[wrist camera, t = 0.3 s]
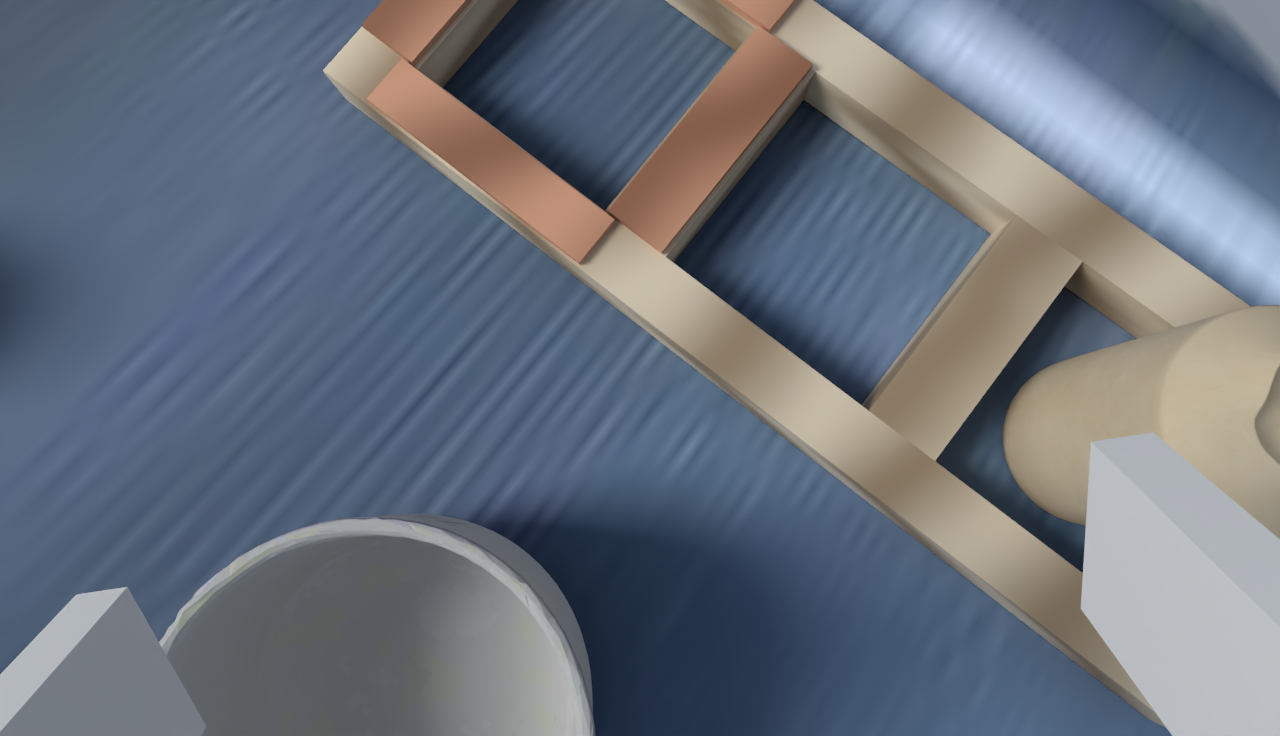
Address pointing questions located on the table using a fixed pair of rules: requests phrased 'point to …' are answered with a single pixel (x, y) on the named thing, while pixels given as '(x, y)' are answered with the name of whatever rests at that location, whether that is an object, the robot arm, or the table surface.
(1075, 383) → the candle
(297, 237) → the table surface
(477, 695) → the teacup
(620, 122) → the table surface
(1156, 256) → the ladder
